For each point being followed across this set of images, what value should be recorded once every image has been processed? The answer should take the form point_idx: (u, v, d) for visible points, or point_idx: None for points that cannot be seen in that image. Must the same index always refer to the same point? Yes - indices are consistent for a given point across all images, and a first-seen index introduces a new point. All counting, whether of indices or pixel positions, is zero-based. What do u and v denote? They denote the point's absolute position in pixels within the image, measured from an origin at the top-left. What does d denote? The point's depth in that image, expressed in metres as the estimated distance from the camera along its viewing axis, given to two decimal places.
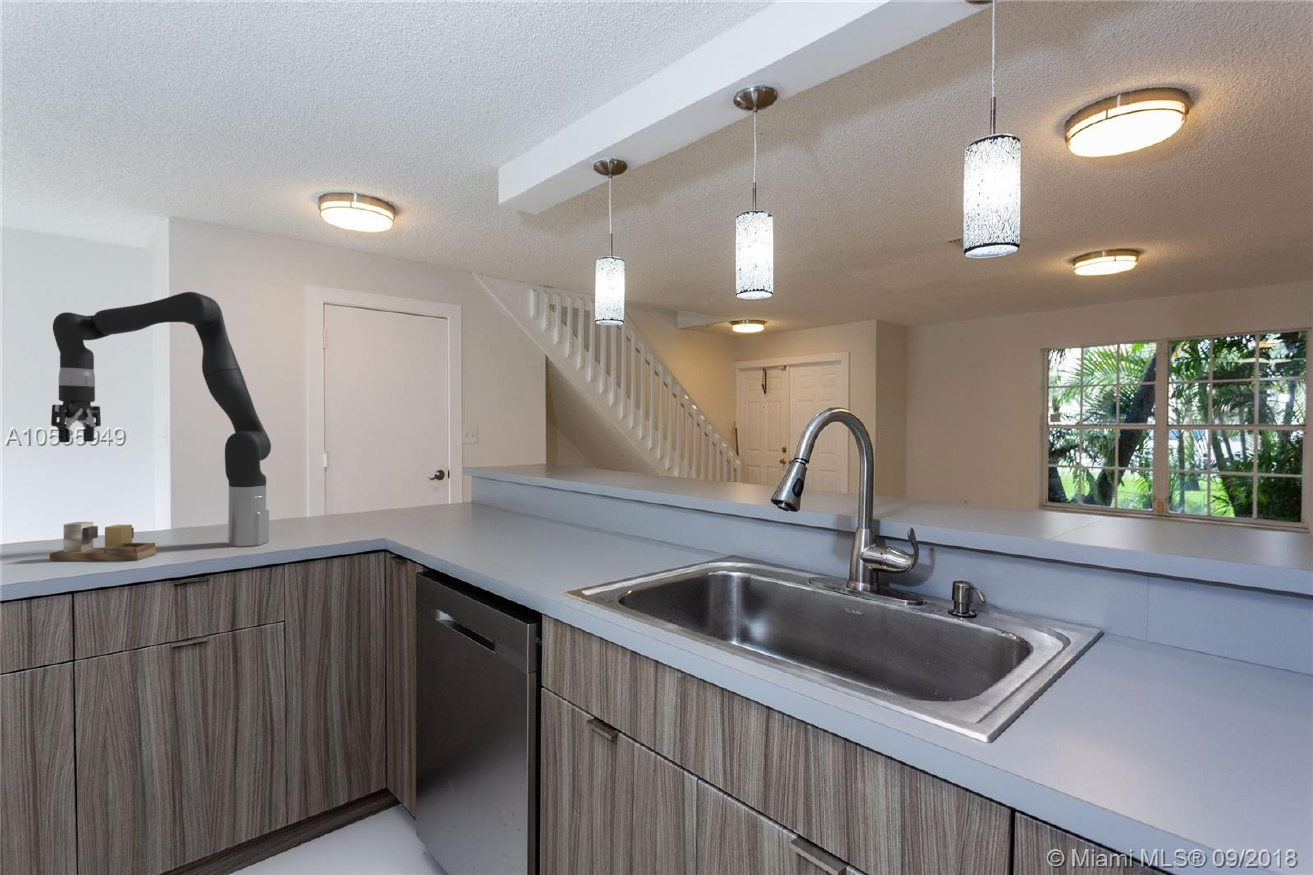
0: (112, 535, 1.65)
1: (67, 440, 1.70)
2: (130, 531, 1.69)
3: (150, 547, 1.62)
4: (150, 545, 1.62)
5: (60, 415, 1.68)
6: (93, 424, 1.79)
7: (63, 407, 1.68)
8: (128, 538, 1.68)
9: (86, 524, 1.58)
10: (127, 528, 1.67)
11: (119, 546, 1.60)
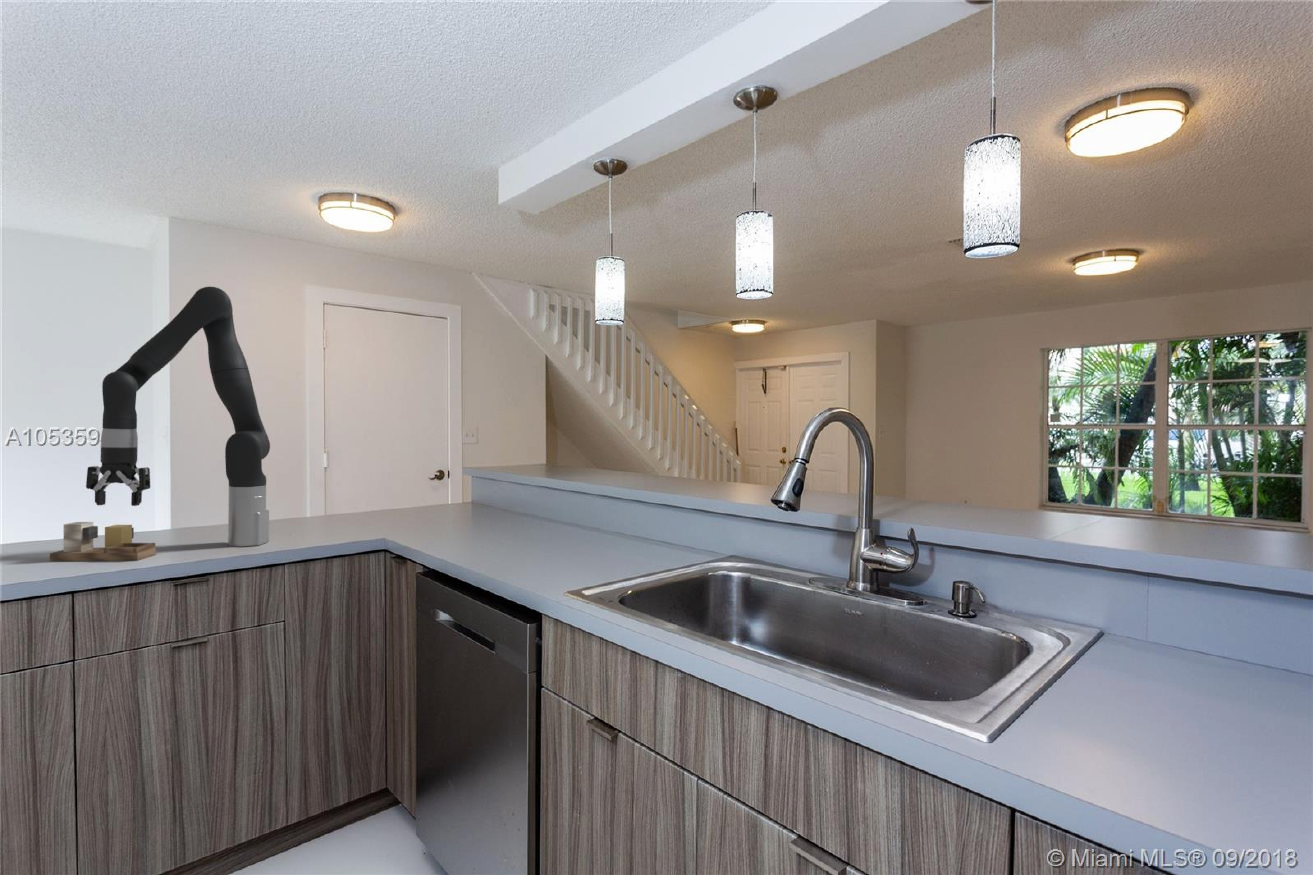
0: (112, 535, 1.65)
1: (139, 503, 1.68)
2: (130, 531, 1.69)
3: (150, 547, 1.62)
4: (150, 545, 1.62)
5: (149, 478, 1.69)
6: None
7: None
8: (128, 538, 1.68)
9: (86, 524, 1.58)
10: (127, 528, 1.67)
11: (119, 546, 1.60)
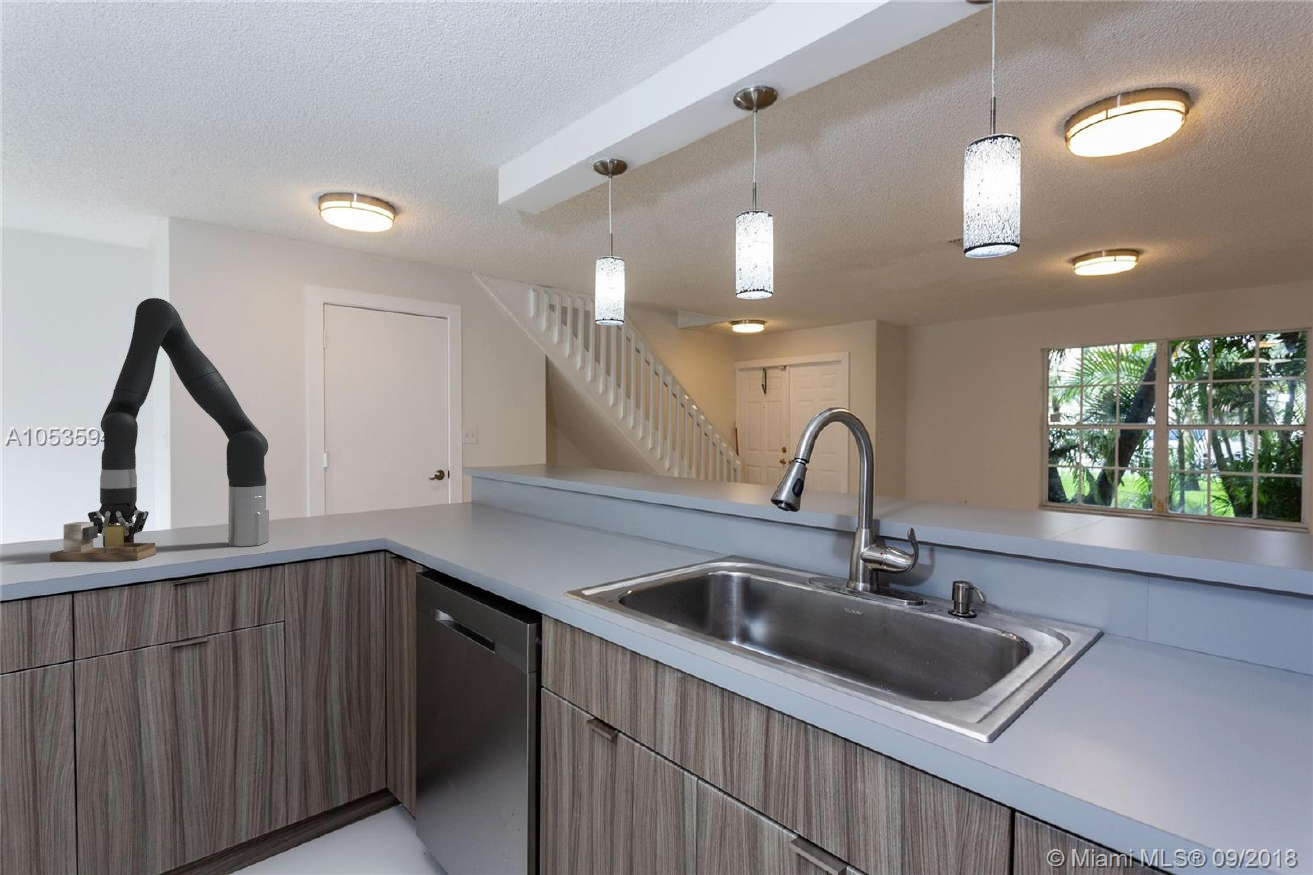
0: (112, 535, 1.65)
1: None
2: None
3: (150, 547, 1.62)
4: (150, 545, 1.62)
5: (144, 522, 1.69)
6: None
7: None
8: None
9: (86, 524, 1.58)
10: None
11: (119, 546, 1.60)
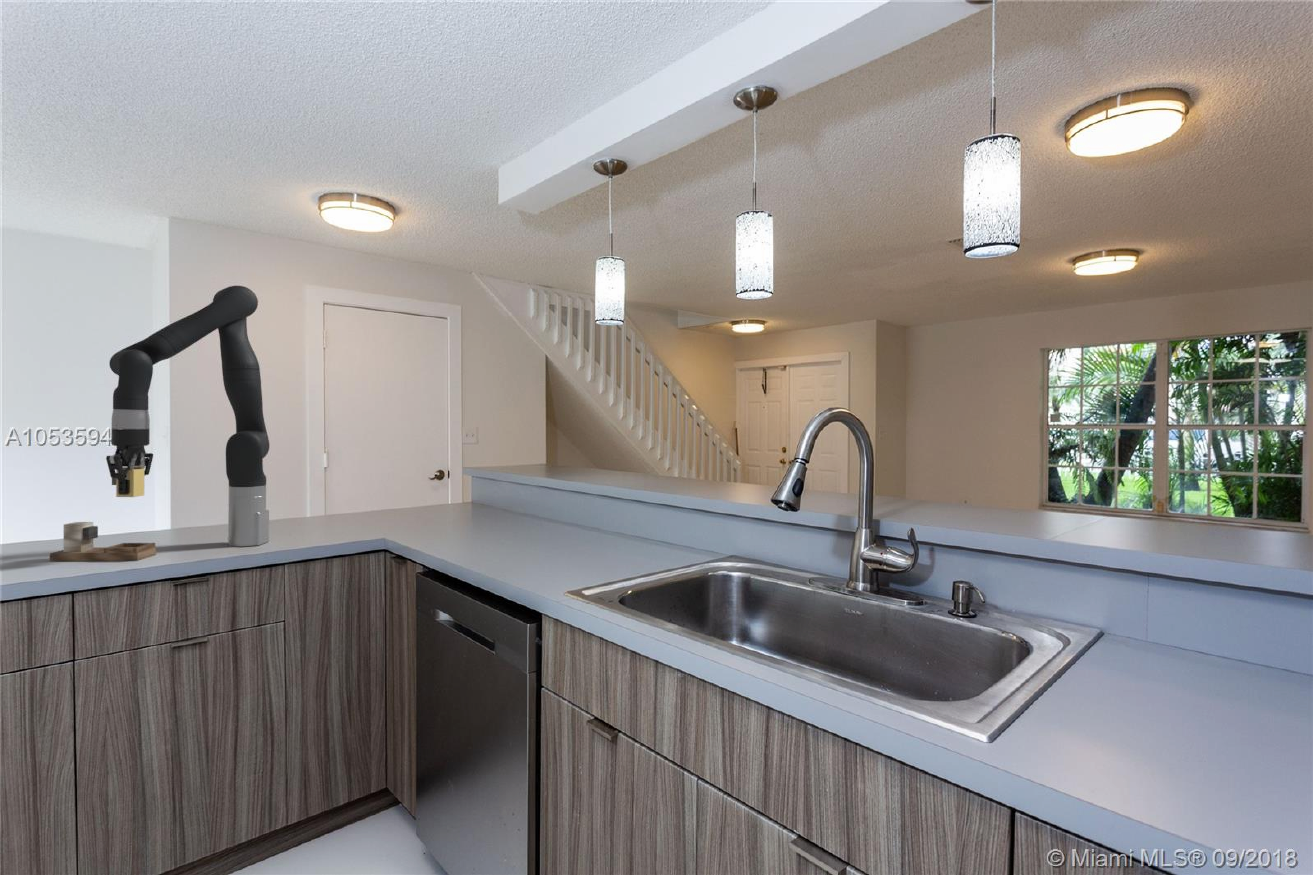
0: (138, 477, 1.60)
1: None
2: None
3: (150, 547, 1.62)
4: (150, 545, 1.62)
5: None
6: None
7: None
8: None
9: (86, 524, 1.58)
10: None
11: (119, 546, 1.60)
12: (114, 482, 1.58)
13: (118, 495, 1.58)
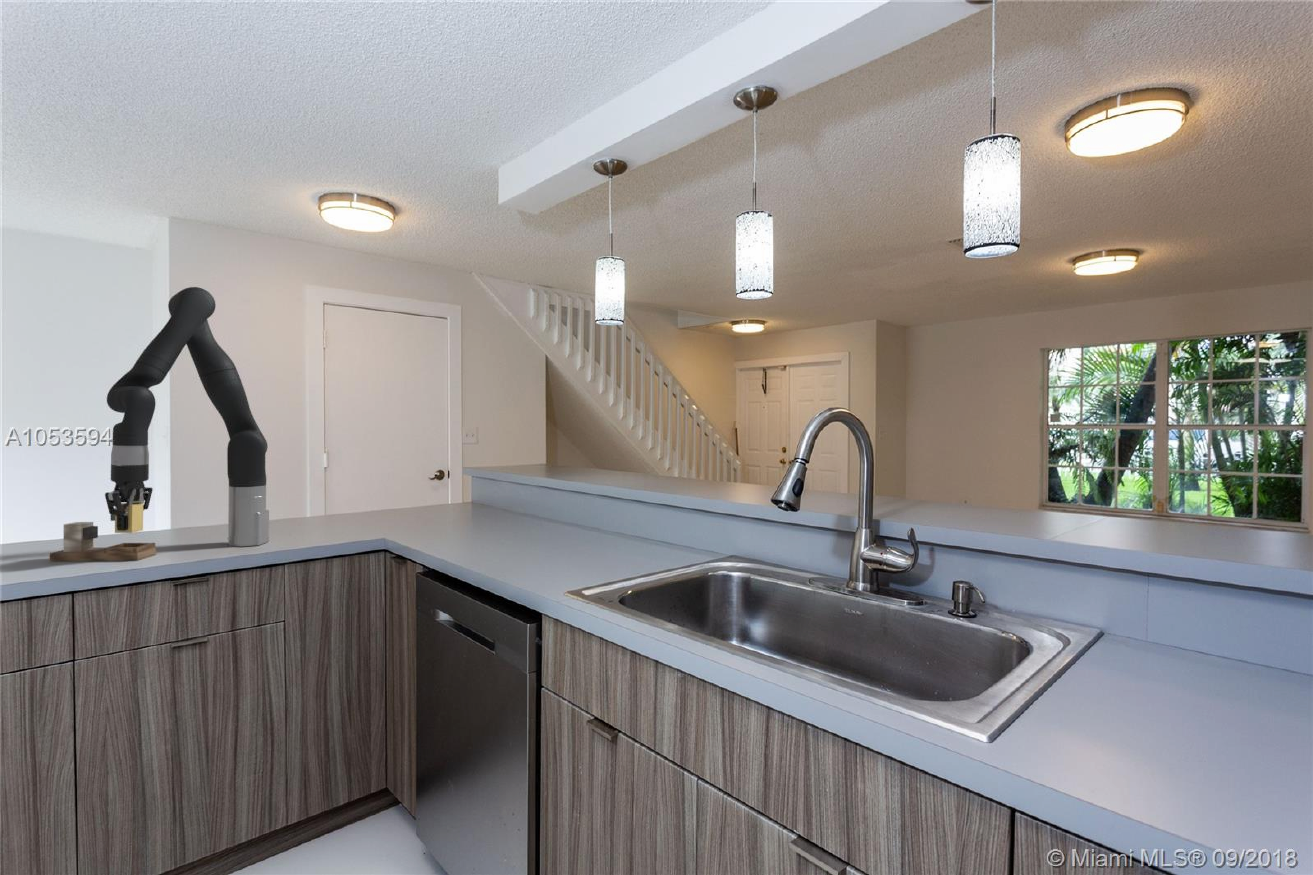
0: (137, 513, 1.60)
1: None
2: None
3: (150, 547, 1.62)
4: (150, 545, 1.62)
5: None
6: None
7: None
8: None
9: (86, 524, 1.58)
10: None
11: (119, 546, 1.60)
12: (113, 518, 1.58)
13: (117, 531, 1.58)
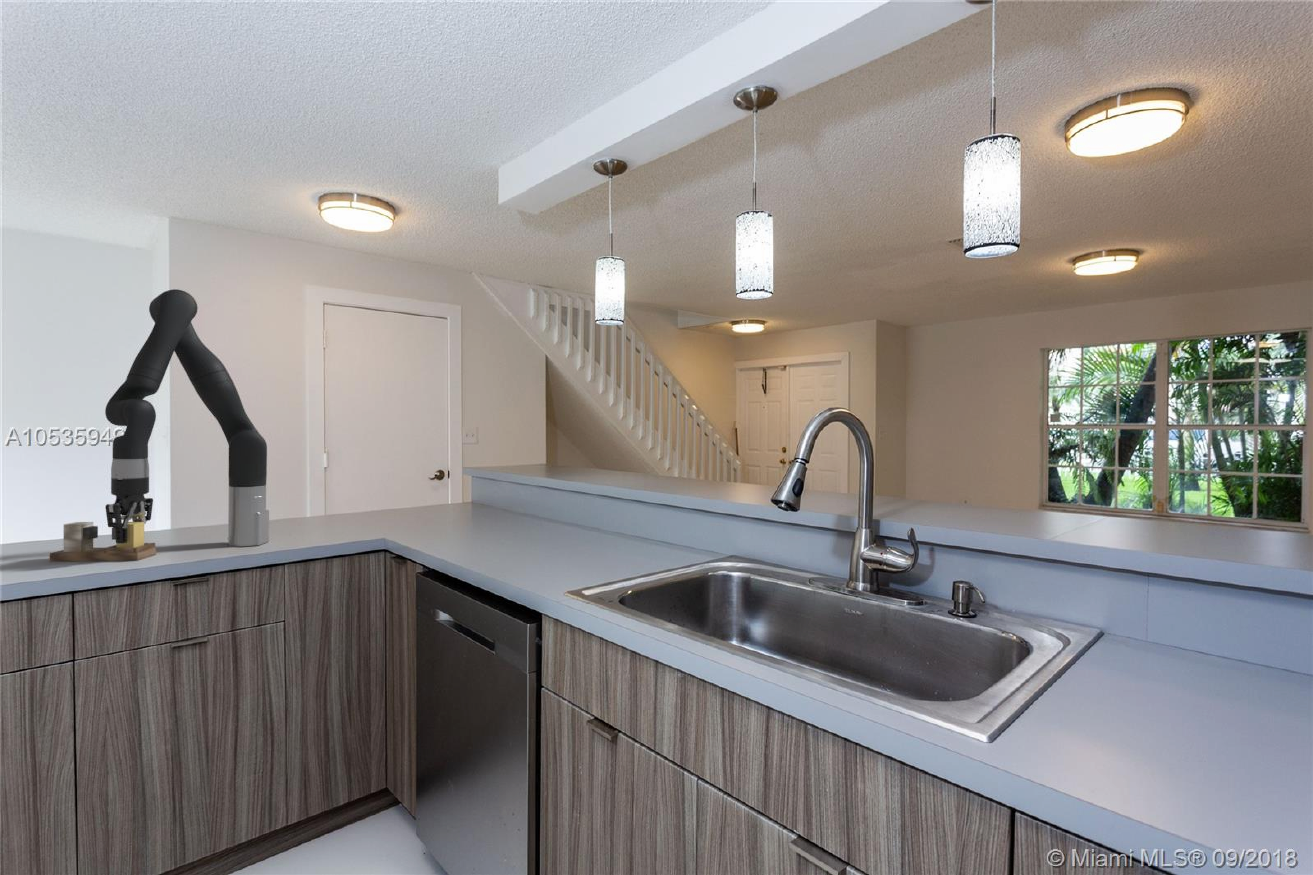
0: (138, 531, 1.60)
1: None
2: None
3: (150, 547, 1.62)
4: (150, 545, 1.62)
5: None
6: None
7: None
8: None
9: (86, 524, 1.58)
10: None
11: None
12: (114, 536, 1.58)
13: None
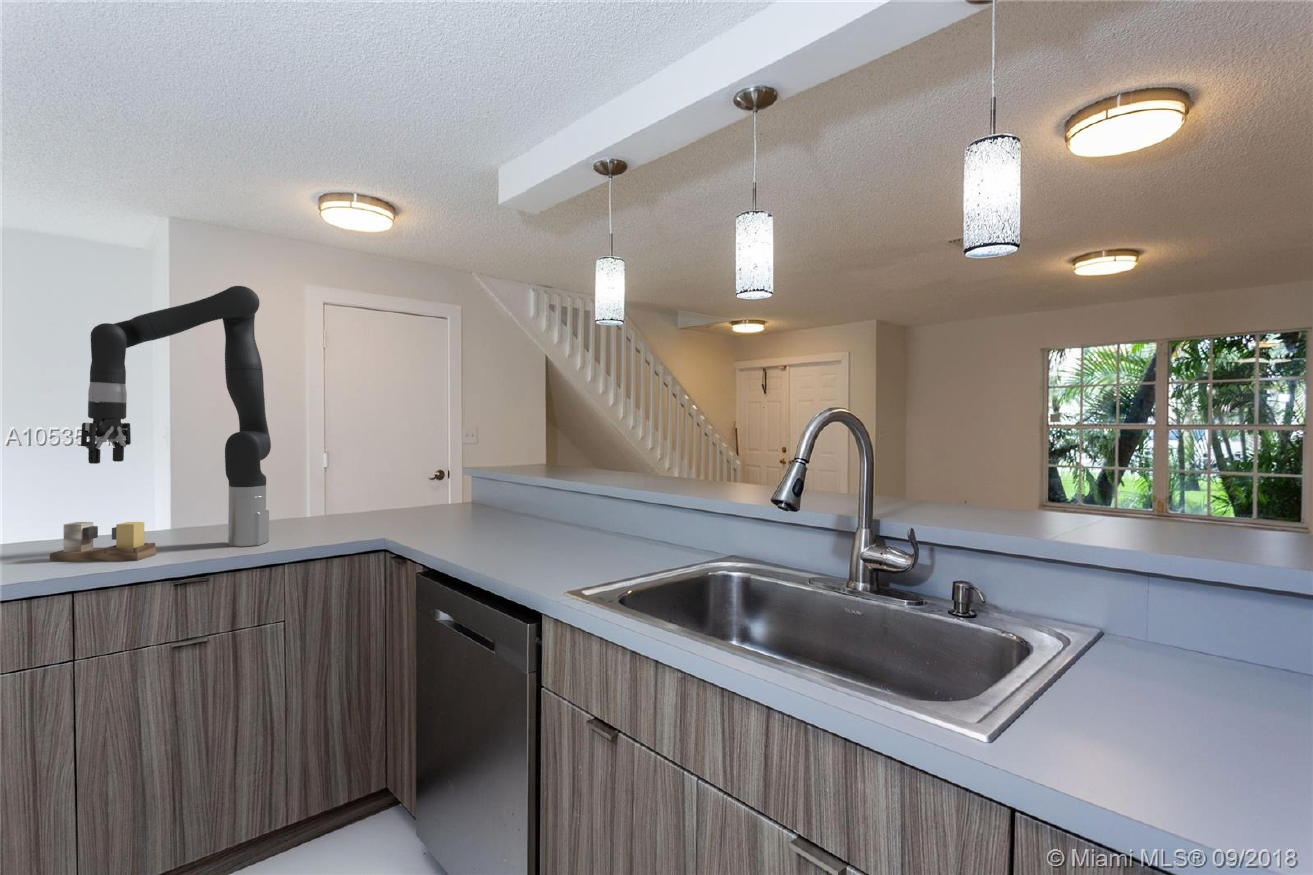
0: (138, 531, 1.60)
1: None
2: None
3: (150, 547, 1.62)
4: (150, 545, 1.62)
5: None
6: None
7: None
8: None
9: (86, 524, 1.58)
10: None
11: None
12: (114, 536, 1.58)
13: None
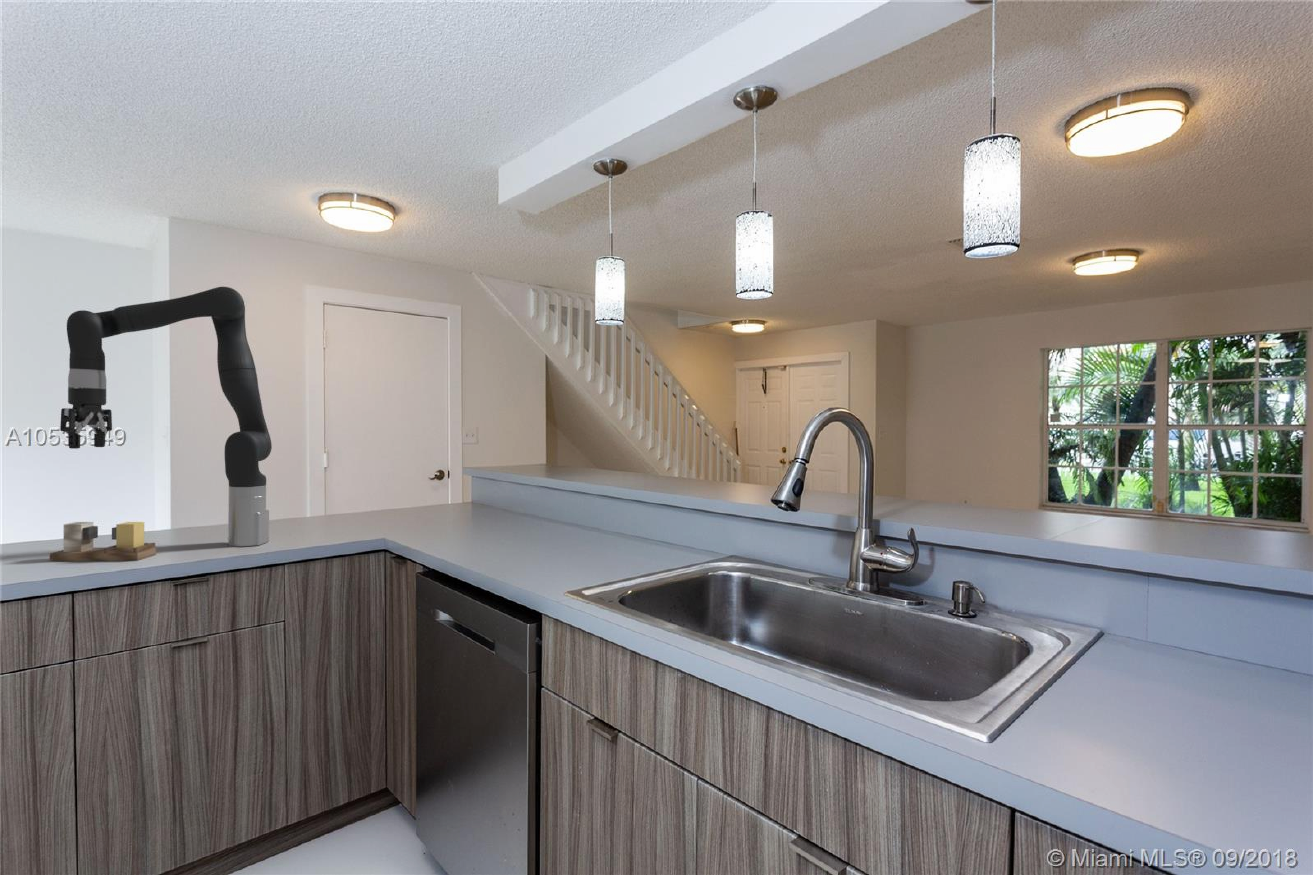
0: (138, 531, 1.60)
1: None
2: None
3: (150, 547, 1.62)
4: (150, 545, 1.62)
5: None
6: None
7: None
8: None
9: (86, 524, 1.58)
10: None
11: None
12: (114, 536, 1.58)
13: None
